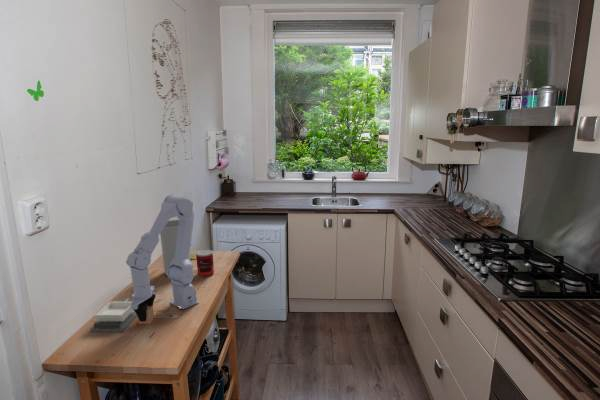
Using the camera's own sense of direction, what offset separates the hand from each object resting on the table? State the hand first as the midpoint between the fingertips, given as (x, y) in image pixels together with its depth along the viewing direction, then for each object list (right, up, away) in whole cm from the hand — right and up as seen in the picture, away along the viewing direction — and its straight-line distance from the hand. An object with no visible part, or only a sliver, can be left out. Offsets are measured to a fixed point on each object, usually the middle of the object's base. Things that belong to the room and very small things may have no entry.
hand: (145, 317), depth 136 cm
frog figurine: (-7, +12, +62) cm, 63 cm away
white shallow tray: (-11, 0, +1) cm, 11 cm away
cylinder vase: (-2, +8, +44) cm, 45 cm away
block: (0, -1, 0) cm, 1 cm away
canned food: (+12, +8, +41) cm, 44 cm away
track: (-11, -1, +5) cm, 12 cm away
